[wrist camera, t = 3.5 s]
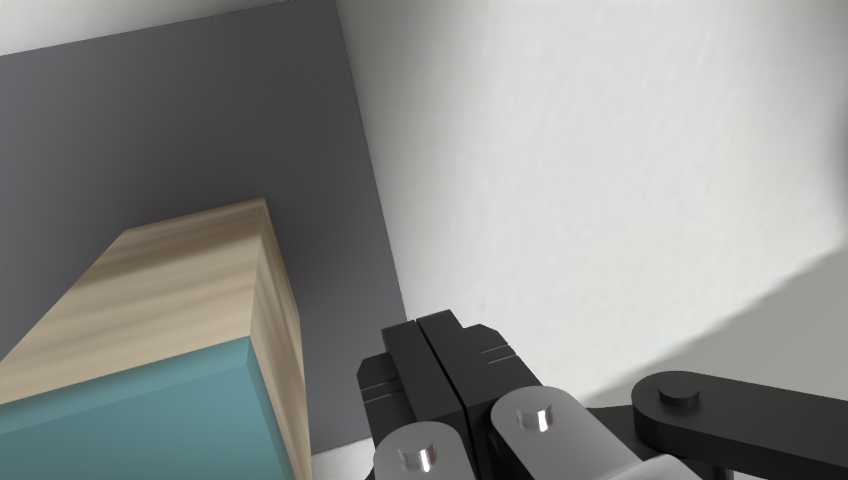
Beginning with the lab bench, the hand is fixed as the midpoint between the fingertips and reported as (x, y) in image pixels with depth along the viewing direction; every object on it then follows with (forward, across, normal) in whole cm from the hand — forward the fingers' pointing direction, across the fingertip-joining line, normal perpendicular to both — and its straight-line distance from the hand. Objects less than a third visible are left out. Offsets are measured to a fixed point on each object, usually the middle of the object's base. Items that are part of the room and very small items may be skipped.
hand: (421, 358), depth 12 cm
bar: (+9, +5, 0) cm, 11 cm away
